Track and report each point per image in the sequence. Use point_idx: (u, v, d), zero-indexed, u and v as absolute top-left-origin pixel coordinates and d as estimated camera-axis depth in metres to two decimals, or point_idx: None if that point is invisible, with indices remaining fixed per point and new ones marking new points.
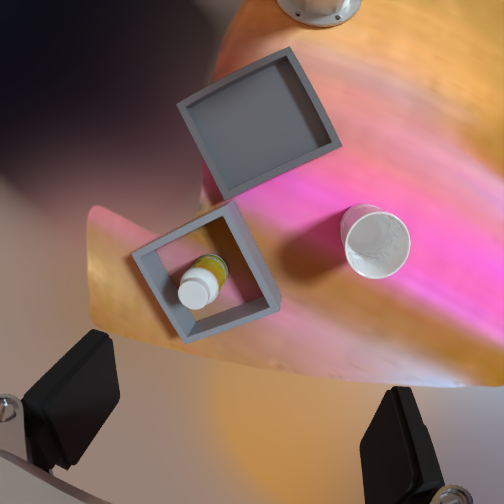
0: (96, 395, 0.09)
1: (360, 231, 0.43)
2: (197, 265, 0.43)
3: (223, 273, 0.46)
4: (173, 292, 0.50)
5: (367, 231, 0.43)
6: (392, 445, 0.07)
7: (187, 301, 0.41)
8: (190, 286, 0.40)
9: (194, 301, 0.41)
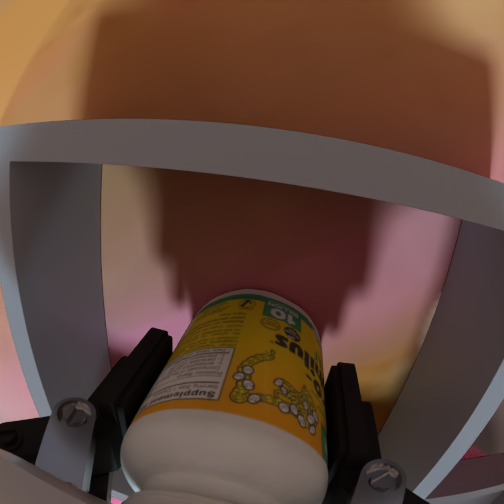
0: None
1: None
2: None
3: None
4: None
5: None
6: (330, 417, 0.08)
7: None
8: None
9: None
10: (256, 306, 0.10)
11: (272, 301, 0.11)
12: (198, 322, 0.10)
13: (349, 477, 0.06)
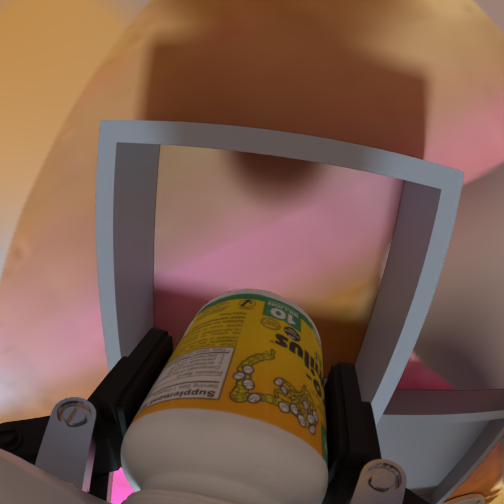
0: None
1: None
2: None
3: None
4: None
5: None
6: (330, 417, 0.08)
7: None
8: None
9: None
10: (256, 306, 0.11)
11: (272, 301, 0.11)
12: (198, 322, 0.10)
13: (349, 477, 0.06)
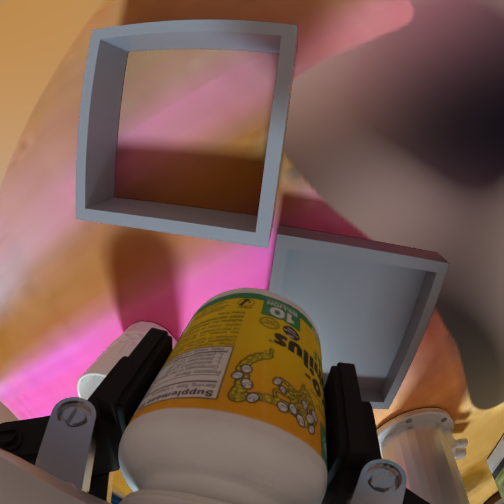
0: None
1: None
2: None
3: None
4: (188, 44, 0.22)
5: None
6: (330, 417, 0.08)
7: None
8: None
9: None
10: (255, 304, 0.10)
11: (271, 300, 0.11)
12: (197, 321, 0.10)
13: (349, 477, 0.06)
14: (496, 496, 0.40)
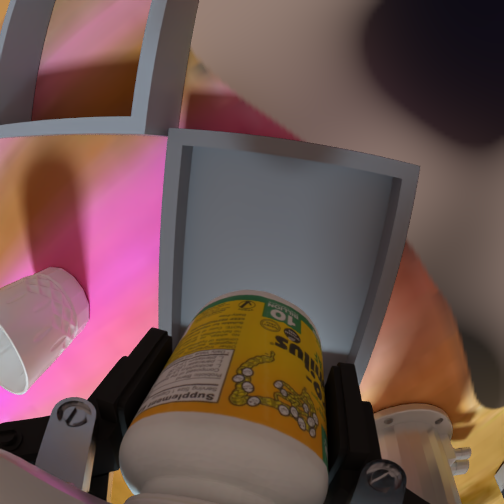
0: None
1: None
2: None
3: None
4: None
5: None
6: (330, 417, 0.08)
7: None
8: None
9: None
10: (256, 307, 0.10)
11: (272, 302, 0.11)
12: (197, 323, 0.10)
13: (349, 477, 0.06)
14: None
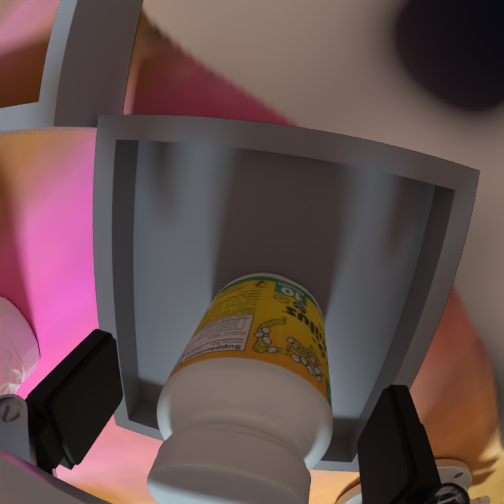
0: (100, 394, 0.09)
1: None
2: None
3: None
4: None
5: None
6: (388, 443, 0.07)
7: (207, 486, 0.06)
8: None
9: (192, 498, 0.06)
10: (269, 285, 0.13)
11: (282, 282, 0.13)
12: (219, 299, 0.12)
13: (414, 503, 0.05)
14: None
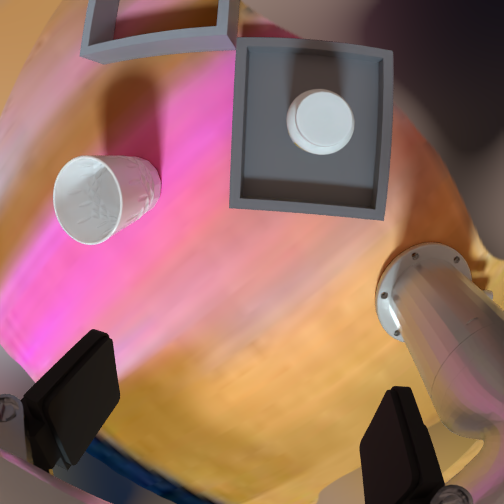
0: (96, 395, 0.09)
1: None
2: None
3: None
4: None
5: None
6: (392, 445, 0.07)
7: (318, 103, 0.20)
8: (341, 125, 0.21)
9: (313, 114, 0.21)
10: None
11: None
12: None
13: None
14: None
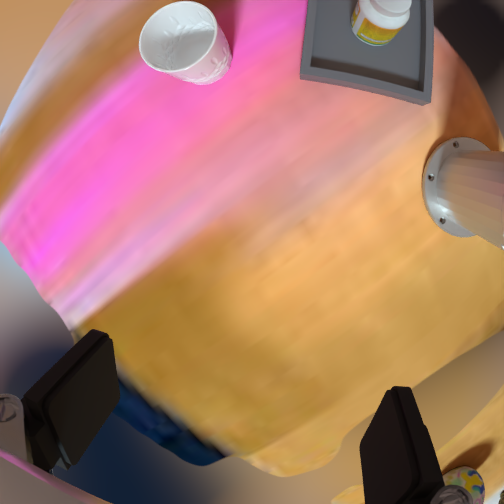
0: (96, 395, 0.09)
1: (201, 51, 0.32)
2: None
3: (371, 37, 0.27)
4: None
5: (197, 58, 0.32)
6: (392, 445, 0.07)
7: None
8: (404, 1, 0.20)
9: None
10: None
11: None
12: None
13: None
14: None
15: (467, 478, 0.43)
